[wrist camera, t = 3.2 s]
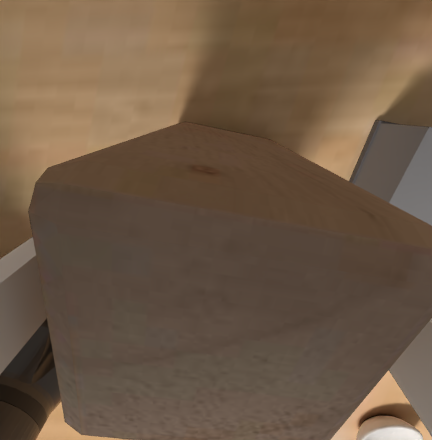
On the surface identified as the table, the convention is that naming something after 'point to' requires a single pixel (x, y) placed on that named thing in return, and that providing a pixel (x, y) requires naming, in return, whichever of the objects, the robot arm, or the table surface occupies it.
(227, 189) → the wooden block
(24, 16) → the table surface
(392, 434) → the spoon rest
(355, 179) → the charcoal base block
